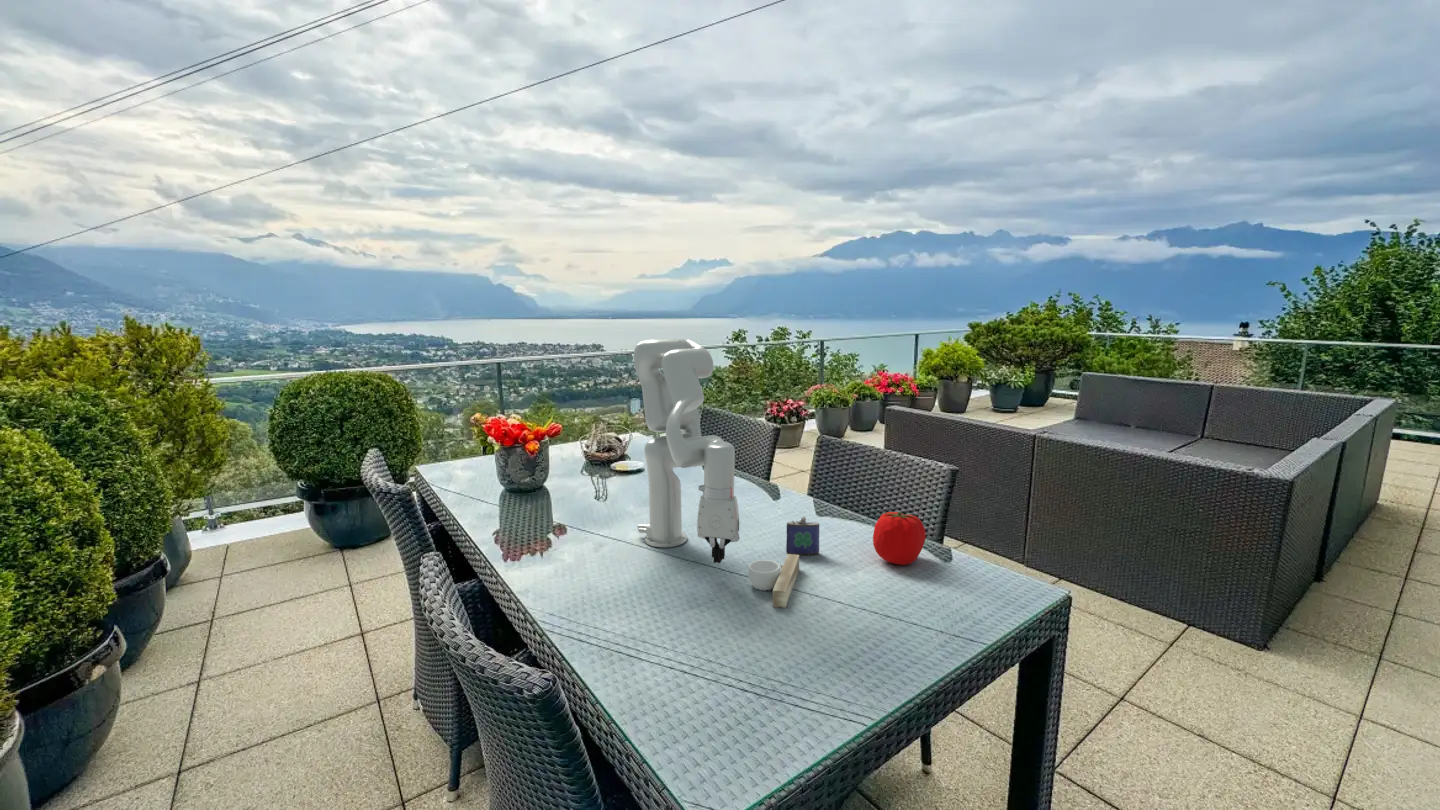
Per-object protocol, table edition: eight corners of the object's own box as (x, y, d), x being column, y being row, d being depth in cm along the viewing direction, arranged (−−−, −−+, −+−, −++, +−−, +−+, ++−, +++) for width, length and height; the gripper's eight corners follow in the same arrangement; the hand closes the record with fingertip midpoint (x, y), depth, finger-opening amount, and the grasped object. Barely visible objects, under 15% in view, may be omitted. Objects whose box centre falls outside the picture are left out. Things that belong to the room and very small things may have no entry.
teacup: (762, 597, 139) (762, 575, 138) (742, 585, 145) (742, 564, 144) (793, 585, 144) (793, 564, 144) (772, 575, 151) (772, 555, 150)
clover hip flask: (818, 551, 166) (819, 515, 164) (819, 556, 163) (820, 519, 161) (785, 551, 166) (786, 515, 165) (786, 555, 163) (786, 518, 162)
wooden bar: (772, 606, 134) (772, 590, 133) (787, 568, 155) (787, 553, 154) (785, 608, 133) (785, 591, 132) (799, 569, 154) (799, 554, 153)
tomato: (893, 574, 150) (895, 523, 148) (859, 555, 162) (861, 508, 161) (939, 564, 156) (941, 515, 154) (904, 546, 169) (905, 501, 167)
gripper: (685, 493, 144) (685, 563, 147) (744, 499, 140) (743, 571, 143) (695, 484, 151) (694, 551, 154) (751, 490, 147) (750, 558, 150)
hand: (718, 560), depth 148 cm, fingers closed
